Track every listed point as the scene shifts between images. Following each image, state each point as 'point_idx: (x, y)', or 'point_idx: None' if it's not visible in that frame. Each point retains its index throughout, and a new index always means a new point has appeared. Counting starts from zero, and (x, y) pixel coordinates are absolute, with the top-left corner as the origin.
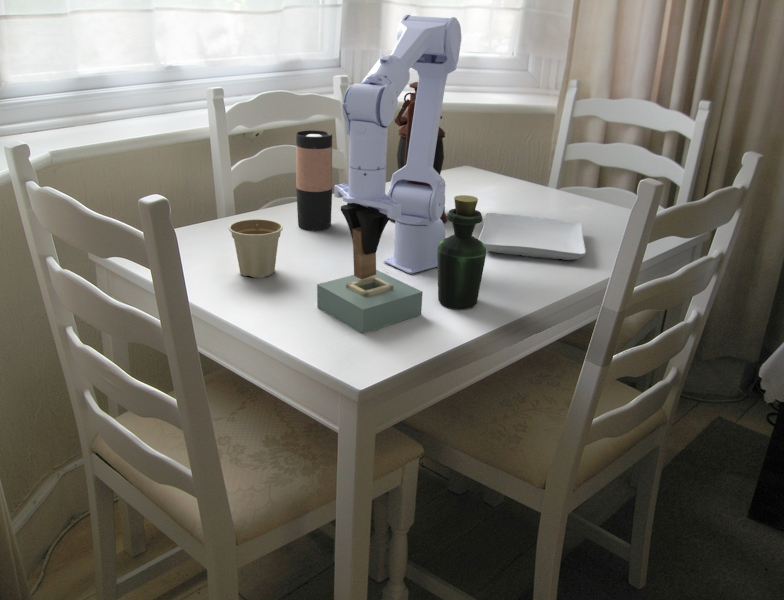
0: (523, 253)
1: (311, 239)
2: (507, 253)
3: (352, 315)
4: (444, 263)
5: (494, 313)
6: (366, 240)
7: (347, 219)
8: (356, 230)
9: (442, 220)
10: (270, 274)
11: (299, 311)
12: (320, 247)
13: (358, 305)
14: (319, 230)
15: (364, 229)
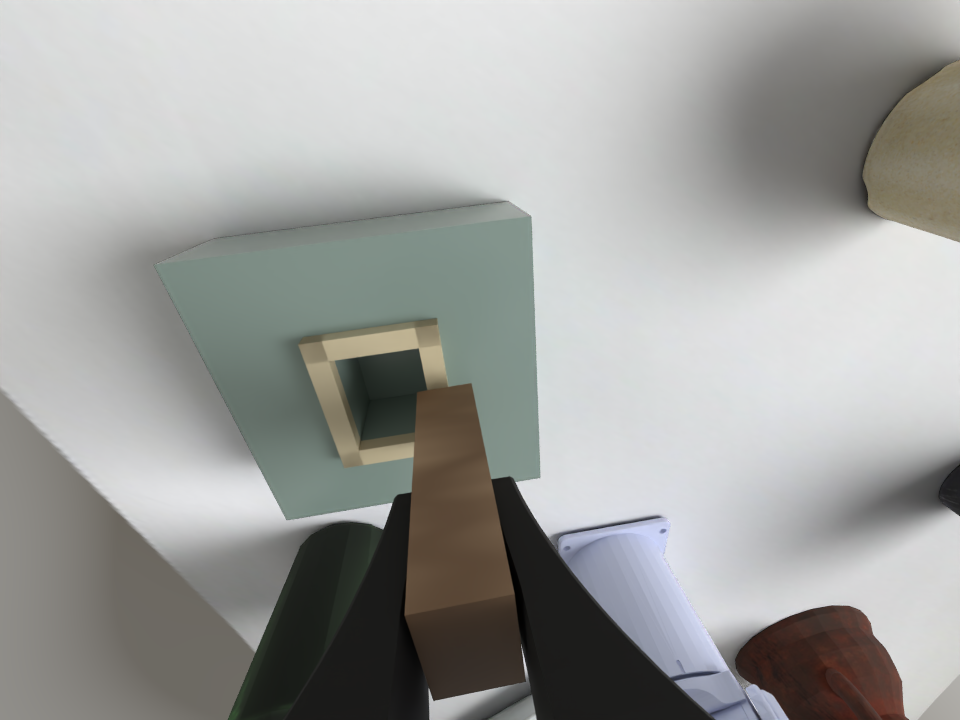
0: (504, 714)
1: (934, 431)
2: (531, 695)
3: (260, 240)
4: (298, 662)
5: (258, 587)
6: (362, 580)
7: (607, 661)
8: (465, 607)
9: (742, 673)
10: (863, 178)
11: (509, 108)
12: (873, 429)
13: (208, 268)
14: (953, 472)
15: (339, 677)
